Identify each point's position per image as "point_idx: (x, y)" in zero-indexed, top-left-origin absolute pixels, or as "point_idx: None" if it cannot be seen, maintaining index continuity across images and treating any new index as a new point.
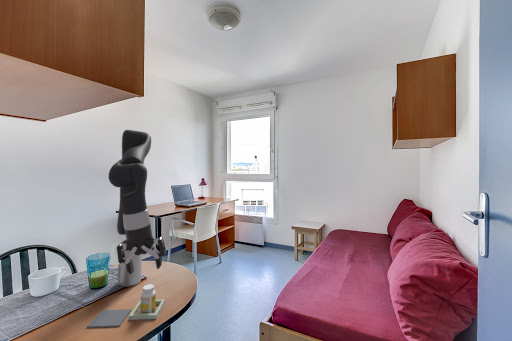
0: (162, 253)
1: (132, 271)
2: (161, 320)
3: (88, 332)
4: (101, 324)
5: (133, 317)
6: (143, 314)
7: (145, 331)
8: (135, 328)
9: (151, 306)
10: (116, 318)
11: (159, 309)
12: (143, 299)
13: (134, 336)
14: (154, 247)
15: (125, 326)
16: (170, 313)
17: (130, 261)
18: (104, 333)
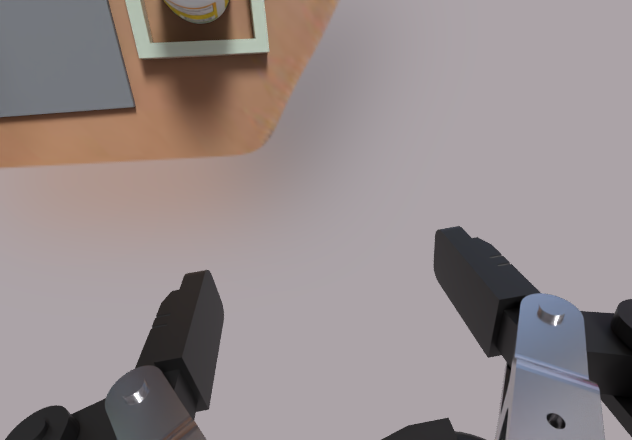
0: (630, 399)
1: (217, 303)
2: (292, 63)
3: (24, 144)
4: (41, 104)
5: (163, 57)
6: (206, 48)
7: (259, 129)
8: (211, 114)
9: (224, 3)
10: (79, 59)
11: (264, 6)
12: (181, 7)
13: (232, 155)
14: (593, 430)
15: (160, 104)
16: (313, 12)
17: (186, 393)
18: (102, 146)
